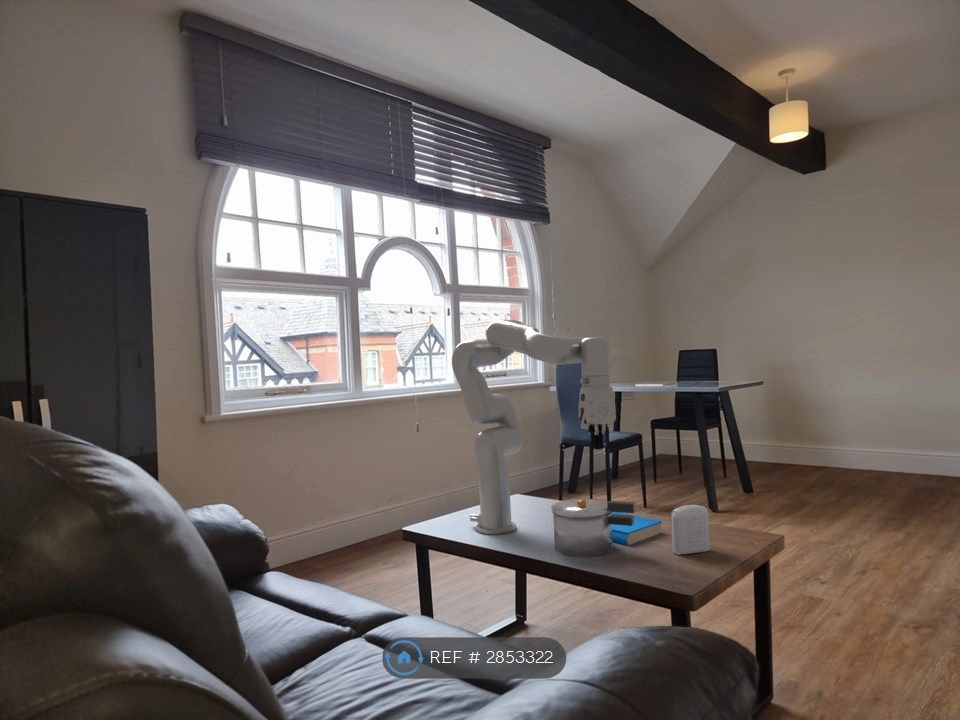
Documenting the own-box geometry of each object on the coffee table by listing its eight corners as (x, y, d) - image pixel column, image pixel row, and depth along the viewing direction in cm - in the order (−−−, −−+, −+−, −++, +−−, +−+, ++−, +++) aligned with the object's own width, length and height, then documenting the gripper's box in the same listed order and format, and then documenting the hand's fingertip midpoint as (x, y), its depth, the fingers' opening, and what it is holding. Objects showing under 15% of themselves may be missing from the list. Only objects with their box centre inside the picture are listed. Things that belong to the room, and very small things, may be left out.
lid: (543, 516, 173) (542, 505, 173) (562, 501, 188) (561, 492, 188) (628, 522, 163) (627, 510, 163) (640, 506, 179) (640, 496, 179)
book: (595, 507, 207) (662, 519, 188) (596, 520, 207) (663, 534, 188) (559, 518, 196) (626, 531, 177) (560, 532, 196) (627, 547, 177)
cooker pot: (546, 553, 173) (545, 516, 173) (564, 537, 188) (563, 503, 188) (627, 561, 164) (626, 522, 164) (640, 543, 178) (638, 508, 178)
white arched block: (703, 547, 173) (701, 501, 173) (712, 551, 169) (710, 505, 169) (669, 551, 170) (667, 505, 170) (678, 556, 166) (676, 509, 166)
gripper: (584, 384, 168) (585, 453, 168) (625, 381, 176) (626, 447, 176) (565, 383, 174) (567, 450, 175) (606, 380, 182) (607, 444, 183)
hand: (597, 448), depth 175 cm, fingers closed
